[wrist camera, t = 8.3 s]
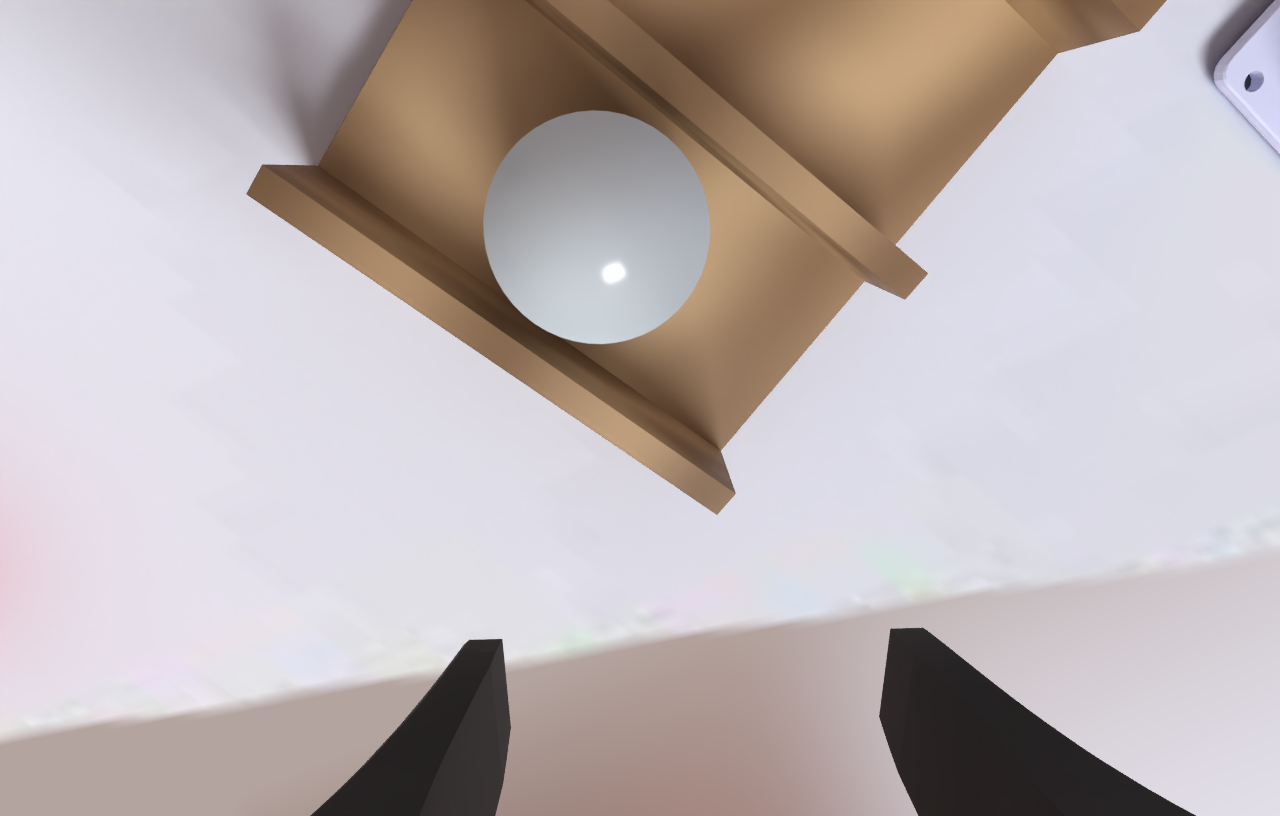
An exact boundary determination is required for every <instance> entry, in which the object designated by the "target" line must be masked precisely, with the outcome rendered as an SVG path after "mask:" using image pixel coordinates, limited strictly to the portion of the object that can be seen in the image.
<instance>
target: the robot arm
mask: <svg viewBox="0 0 1280 816" xmlns="http://www.w3.org/2000/svg"><path fill="white" fill-rule="evenodd" d="M1248 75H1250V77H1251V85H1250V86H1249V88H1248V90H1246V89H1245V87H1244V82H1245V79H1246V78H1247V76H1248ZM1214 82H1215V84H1216V86H1217V87H1218V88H1219V89H1220V90H1221V92H1222V93H1223V94H1224V95H1225V96H1226V97H1227V98H1228V99H1229V100H1230V101H1231V102H1232V103H1233V104H1234V106H1235V107H1236V108H1237V109H1238V110H1239V111H1240V112H1241V113H1242V114H1243V115H1244V116H1245V117H1246V118H1247V120H1248V121H1249V122H1250V123H1251V124H1252V125H1253V126H1254V127H1255V128H1256V129H1257V130H1258V131H1259V132H1260V134H1261V135H1262V136H1263V137H1264V138H1265V139H1266V140H1267V141H1268V142H1269V143H1270V144H1271V145H1272V146H1273V148H1274V149H1275V150H1276V151H1277V152H1278V153H1279V154H1280V0H1274V1H1273V3H1272V4H1271V5H1270V6H1269V7H1268V8H1267V9H1266V10H1265V11H1264V12H1263V13H1262V15H1261V16H1260V17H1259V18H1258V19H1257V20H1256V21H1255V22H1254V23H1253V24H1252V25H1251V27H1250V28H1249V29H1248V30H1247V31H1246V32H1245V33H1244V34H1243V35H1242V36H1241V37H1240V39H1239V40H1238V41H1237V42H1236V43H1235V44H1234V45H1233V46H1232V47H1231V48H1230V49H1229V51H1228V52H1227V53H1226V54H1225V55H1224V56H1223V57H1222V58H1221V59H1220V61H1219V62H1218V64H1217V65H1216V68H1215V71H1214ZM879 717H880V720H881V724H882V727H883V730H884V733H885V736H886V739H887V742H888V745H889V748H890V751H891V754H892V757H893V759H894V762H895V765H896V768H897V770H898V773H899V775H900V777H901V779H902V782H903V784H904V786H905V788H906V790H907V793H908V795H909V797H910V799H911V801H912V803H913V805H914V807H915V809H916V811H917V814H918V816H1196V815H1194V814H1192V813H1190V812H1188V811H1186V810H1184V809H1183V808H1181V807H1179V806H1177V805H1175V804H1173V803H1171V802H1170V801H1168V800H1166V799H1164V798H1163V797H1161V796H1159V795H1158V794H1156V793H1154V792H1152V791H1151V790H1149V789H1147V788H1145V787H1144V786H1142V785H1141V784H1139V783H1137V782H1136V781H1134V780H1132V779H1131V778H1129V777H1128V776H1126V775H1124V774H1123V773H1121V772H1119V771H1118V770H1116V769H1114V768H1113V767H1111V766H1110V765H1108V764H1106V763H1105V762H1103V761H1102V760H1100V759H1099V758H1097V757H1095V756H1094V755H1092V754H1091V753H1089V752H1088V751H1086V750H1085V749H1083V748H1082V747H1080V746H1079V745H1077V744H1076V743H1075V742H1073V741H1072V740H1070V739H1069V738H1067V737H1066V736H1064V735H1063V734H1062V733H1060V732H1059V731H1057V730H1056V729H1054V728H1053V727H1051V726H1050V725H1049V724H1047V723H1046V722H1044V721H1043V720H1042V719H1040V718H1039V717H1038V716H1036V715H1035V714H1033V713H1032V712H1031V711H1029V710H1028V709H1027V708H1025V707H1024V706H1023V705H1021V704H1020V703H1019V702H1017V701H1016V700H1015V699H1013V698H1012V697H1011V696H1009V695H1008V694H1007V693H1005V692H1004V691H1003V690H1002V689H1000V688H999V687H998V686H997V685H995V684H994V683H993V682H991V681H990V680H989V679H988V678H986V677H985V676H984V675H982V674H981V673H980V672H979V671H978V670H976V669H975V668H974V667H973V666H971V665H970V664H969V663H967V662H966V661H965V660H964V659H962V658H961V657H960V656H959V655H957V654H956V653H955V652H954V651H952V650H951V649H950V648H949V647H947V646H946V645H945V644H944V643H942V642H941V641H940V640H939V639H937V638H936V637H935V636H933V635H932V634H931V633H929V632H928V631H927V630H925V629H924V628H903V629H890V637H889V645H888V653H887V660H886V668H885V676H884V684H883V692H882V699H881V708H880V715H879ZM510 729H511V725H510V715H509V705H508V694H507V684H506V673H505V663H504V653H503V642H502V639H488V640H469V641H468V642H467V643H466V644H465V645H463V647H462V648H461V649H460V651H459V652H458V653H457V655H456V656H455V657H454V659H453V660H452V661H451V663H450V664H449V665H448V667H447V668H446V669H445V671H444V672H443V673H442V675H441V676H440V677H439V678H438V680H437V681H436V683H435V684H434V685H433V686H432V687H431V689H430V690H429V691H428V692H427V694H426V695H425V696H424V697H423V699H422V700H421V701H420V702H419V703H418V705H417V706H416V707H415V708H414V709H413V710H412V712H411V713H410V714H409V715H408V717H407V718H406V719H405V720H404V721H403V722H402V724H401V725H400V726H399V727H398V728H397V730H395V732H394V733H393V734H392V735H391V736H390V737H389V738H388V739H387V740H386V741H385V742H384V743H383V745H382V746H381V747H380V748H379V749H378V750H377V751H376V752H375V753H374V755H372V757H371V758H370V759H369V760H368V761H367V762H366V763H365V764H364V765H363V766H362V767H361V768H360V769H359V770H358V771H357V772H356V773H355V774H354V775H353V776H352V777H351V778H350V779H349V780H348V781H347V782H346V783H345V784H344V785H343V786H342V787H341V788H340V789H339V790H338V791H337V792H336V793H335V794H334V795H332V796H331V797H330V798H329V799H328V800H327V801H326V802H325V803H324V804H323V805H322V806H321V807H320V808H318V809H317V810H316V811H315V812H314V813H313V814H312V815H311V816H495V814H496V810H497V806H498V802H499V798H500V794H501V790H502V786H503V780H504V773H505V766H506V760H507V752H508V744H509V737H510Z"/></svg>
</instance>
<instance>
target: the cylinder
mask: <svg viewBox="0 0 1280 816" xmlns="http://www.w3.org/2000/svg"><path fill="white" fill-rule="evenodd" d="M483 227H484V241H485V247H486V253H487V256H488V259H489V263H490V266H491V268H492V271H493V273H494V275H495V278H496V280H497V282H498V283H499V285H500V287H501V289H502V290H503V292H504V293H505V295H506V296H507V297H508V299H509V300H510V301H511V302H512V304H513V305H514V306H515V307H516V308H517V309H518V310H519V311H520V312H521V313H522V314H523V315H524V316H525V317H527V318H528V319H529V320H530V321H532V322H533V323H534V324H536V325H537V326H539V327H541V328H542V329H544V330H546V331H548V332H550V333H552V334H554V335H557V336H559V337H562V338H565V339H568V340H572V341H576V342H582V343H588V344H608V343H617V342H621V341H626V340H630V339H633V338H636V337H638V336H641V335H644V334H645V333H647V332H649V331H651V330H653V329H655V328H657V327H658V326H660V325H661V324H662V323H664V322H665V321H667V320H668V319H669V318H670V317H671V316H672V315H673V314H675V313H676V312H677V311H678V310H679V309H680V307H681V306H682V305H683V304H684V303H685V302H686V300H687V299H688V298H689V296H690V294H691V293H692V291H693V290H694V288H695V287H696V285H697V282H698V280H699V278H700V276H701V274H702V271H703V268H704V265H705V262H706V259H707V254H708V249H709V241H710V216H709V210H708V205H707V200H706V197H705V193H704V190H703V187H702V185H701V182H700V180H699V178H698V176H697V174H696V172H695V170H694V168H693V167H692V165H691V164H690V162H689V161H688V159H687V158H686V156H685V155H684V154H683V153H682V152H681V150H680V149H679V148H678V147H677V146H676V145H675V144H674V143H673V142H672V141H671V140H670V139H669V138H668V137H666V136H665V135H664V134H662V133H661V132H660V131H658V130H657V129H655V128H654V127H652V126H650V125H648V124H646V123H645V122H643V121H641V120H639V119H636V118H633V117H630V116H627V115H624V114H620V113H615V112H609V111H594V110H592V111H581V112H574V113H570V114H566V115H562V116H559V117H556V118H554V119H551V120H549V121H547V122H545V123H543V124H541V125H540V126H538V127H536V128H534V129H533V130H532V131H530V132H529V133H528V134H526V135H525V136H524V137H523V138H521V139H520V140H519V141H518V142H517V143H516V144H515V145H514V147H513V148H512V149H511V150H510V151H509V152H508V154H507V155H506V156H505V158H504V159H503V161H502V162H501V164H500V165H499V167H498V169H497V171H496V173H495V175H494V177H493V179H492V182H491V185H490V187H489V190H488V194H487V198H486V203H485V209H484V219H483Z"/></svg>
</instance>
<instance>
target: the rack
mask: <svg viewBox="0 0 1280 816" xmlns="http://www.w3.org/2000/svg"><path fill="white" fill-rule="evenodd" d="M1165 2H1166V0H412V2H411V4H410V5H409V7H408V9H407V11H406V12H405V14H404V16H403V18H402V19H401V21H400V23H399V25H398V26H397V28H396V30H395V32H394V33H393V35H392V37H391V39H390V41H389V42H388V44H387V46H386V48H385V49H384V51H383V53H382V55H381V56H380V58H379V60H378V62H377V63H376V65H375V67H374V69H373V70H372V72H371V74H370V76H369V77H368V79H367V81H366V83H365V84H364V86H363V88H362V90H361V91H360V93H359V95H358V97H357V99H356V100H355V102H354V104H353V106H352V107H351V109H350V111H349V113H348V114H347V116H346V118H345V120H344V121H343V123H342V125H341V127H340V128H339V130H338V132H337V134H336V135H335V137H334V139H333V141H332V142H331V144H330V146H329V148H328V149H327V151H326V153H325V155H324V156H323V158H322V160H321V162H320V164H319V165H318V166H307V165H262V166H261V168H260V170H259V172H258V173H257V175H256V177H255V179H254V181H253V183H252V184H251V186H250V188H249V190H248V192H247V195H248V196H250V197H251V198H253V199H254V200H256V201H257V202H259V203H260V204H262V205H263V206H264V207H266V208H267V209H269V210H270V211H272V212H273V213H275V214H276V215H278V216H279V217H281V218H282V219H284V220H285V221H286V222H288V223H289V224H291V225H292V226H294V227H295V228H297V229H298V230H300V231H301V232H303V233H304V234H306V235H307V236H308V237H310V238H311V239H313V240H314V241H316V242H317V243H319V244H320V245H322V246H323V247H325V248H326V249H328V250H329V251H330V252H332V253H333V254H335V255H336V256H338V257H339V258H341V259H342V260H344V261H345V262H347V263H348V264H350V265H351V266H353V267H354V268H355V269H357V270H358V271H360V272H361V273H363V274H364V275H366V276H367V277H369V278H370V279H372V280H373V281H375V282H376V283H377V284H379V285H380V286H382V287H383V288H385V289H386V290H388V291H389V292H391V293H392V294H394V295H395V296H397V297H398V298H399V299H401V300H402V301H404V302H405V303H407V304H408V305H410V306H411V307H413V308H414V309H416V310H417V311H419V312H420V313H422V314H423V315H424V316H426V317H427V318H429V319H430V320H432V321H433V322H435V323H436V324H438V325H439V326H441V327H442V328H444V329H445V330H446V331H448V332H449V333H451V334H452V335H454V336H455V337H457V338H458V339H460V340H461V341H463V342H464V343H466V344H467V345H468V346H470V347H471V348H473V349H474V350H476V351H477V352H479V353H480V354H482V355H483V356H485V357H486V358H488V359H489V360H490V361H492V362H493V363H495V364H496V365H498V366H499V367H501V368H502V369H504V370H505V371H507V372H508V373H510V374H511V375H513V376H514V377H515V378H517V379H518V380H520V381H521V382H523V383H524V384H526V385H527V386H529V387H530V388H532V389H533V390H535V391H536V392H537V393H539V394H540V395H542V396H543V397H545V398H546V399H548V400H549V401H551V402H552V403H554V404H555V405H557V406H558V407H559V408H561V409H562V410H564V411H565V412H567V413H568V414H570V415H571V416H573V417H574V418H576V419H577V420H579V421H580V422H581V423H583V424H584V425H586V426H587V427H589V428H590V429H592V430H593V431H595V432H596V433H598V434H599V435H601V436H602V437H604V438H605V439H606V440H608V441H609V442H611V443H612V444H614V445H615V446H617V447H618V448H620V449H621V450H623V451H624V452H626V453H627V454H628V455H630V456H631V457H633V458H634V459H636V460H637V461H639V462H640V463H642V464H643V465H645V466H646V467H648V468H649V469H650V470H652V471H653V472H655V473H656V474H658V475H659V476H661V477H662V478H664V479H665V480H667V481H668V482H670V483H671V484H673V485H674V486H675V487H677V488H678V489H680V490H681V491H683V492H684V493H686V494H687V495H689V496H690V497H692V498H693V499H695V500H696V501H697V502H699V503H700V504H702V505H703V506H705V507H706V508H708V509H709V510H711V511H712V512H714V513H715V514H718V513H719V512H720V511H721V510H722V509H723V508H724V506H725V505H726V504H727V503H728V502H729V501H730V500H731V498H732V497H733V496H734V495H735V494H736V493H735V490H734V488H733V485H732V482H731V479H730V476H729V473H728V470H727V468H726V465H725V462H724V459H723V456H722V453H721V450H722V449H723V447H724V446H725V445H726V444H727V443H728V442H729V440H730V439H731V438H732V437H733V436H734V435H735V433H736V432H737V431H738V430H739V429H740V427H741V426H742V425H743V424H744V423H745V422H746V420H747V419H748V418H749V417H750V416H751V414H752V413H753V412H754V411H755V410H756V409H757V407H758V406H759V405H760V404H761V403H762V401H763V400H764V399H765V398H766V397H767V396H768V394H769V393H770V392H771V391H772V390H773V388H774V387H775V386H776V385H777V384H778V383H779V381H780V380H781V379H782V378H783V377H784V376H785V374H786V373H787V372H788V371H789V370H790V368H791V367H792V366H793V365H794V364H795V363H796V361H797V360H798V359H799V358H800V357H801V355H802V354H803V353H804V352H805V351H806V350H807V348H808V347H809V346H810V345H811V344H812V342H813V341H814V340H815V339H816V338H817V337H818V335H819V334H820V333H821V332H822V331H823V330H824V328H825V327H826V326H827V325H828V324H829V322H830V321H831V320H832V319H833V318H834V317H835V315H836V314H837V313H838V312H839V311H840V309H841V308H842V307H843V306H844V305H845V304H846V302H847V301H848V300H849V299H850V298H851V296H852V295H853V294H854V293H855V292H856V291H857V289H858V288H859V287H860V286H861V285H862V284H863V282H864V281H865V282H868V283H870V284H872V285H874V286H876V287H879V288H881V289H883V290H885V291H888V292H890V293H892V294H894V295H896V296H899V297H901V298H903V299H906V298H907V297H908V296H909V295H910V293H911V292H912V291H913V290H914V289H915V288H916V287H917V285H918V284H919V283H920V282H921V281H922V280H923V279H924V277H925V276H926V275H927V274H928V273H927V272H926V271H925V270H924V269H922V268H921V267H920V266H919V265H918V264H917V263H915V262H914V261H913V260H912V259H911V258H909V257H908V256H907V255H906V254H905V253H904V252H902V251H901V250H900V249H899V248H898V247H897V246H895V245H896V243H897V242H898V241H899V240H900V239H901V237H902V236H903V235H904V234H905V233H906V232H907V230H908V229H909V228H910V227H911V226H912V225H913V223H914V222H915V221H916V220H917V219H918V217H919V216H920V215H921V214H922V213H923V212H924V210H925V209H926V208H927V207H928V206H929V204H930V203H931V202H932V201H933V200H934V199H935V197H936V196H937V195H938V194H939V193H940V191H941V190H942V189H943V188H944V187H945V186H946V184H947V183H948V182H949V181H950V180H951V179H952V177H953V176H954V175H955V174H956V173H957V171H958V170H959V169H960V168H961V167H962V166H963V164H964V163H965V162H966V161H967V160H968V158H969V157H970V156H971V155H972V154H973V153H974V151H975V150H976V149H977V148H978V147H979V145H980V144H981V143H982V142H983V141H984V140H985V138H986V137H987V136H988V135H989V134H990V133H991V131H992V130H993V129H994V128H995V127H996V125H997V124H998V123H999V122H1000V121H1001V120H1002V118H1003V117H1004V116H1005V115H1006V114H1007V112H1008V111H1009V110H1010V109H1011V108H1012V107H1013V105H1014V104H1015V103H1016V102H1017V101H1018V99H1019V98H1020V97H1021V96H1022V95H1023V94H1024V92H1025V91H1026V90H1027V89H1028V88H1029V86H1030V85H1031V84H1032V83H1033V82H1034V81H1035V79H1036V78H1037V77H1038V76H1039V75H1040V74H1041V72H1042V71H1043V70H1044V69H1045V68H1046V66H1047V65H1048V64H1049V63H1050V62H1051V61H1052V59H1053V58H1054V57H1055V56H1056V55H1057V53H1061V52H1065V51H1068V50H1072V49H1076V48H1079V47H1083V46H1087V45H1090V44H1094V43H1098V42H1101V41H1105V40H1109V39H1112V38H1116V37H1120V36H1123V35H1127V34H1131V33H1134V32H1138V31H1140V30H1141V29H1142V28H1143V27H1144V26H1145V24H1146V23H1147V22H1148V21H1149V20H1150V19H1151V18H1152V16H1153V15H1154V14H1155V13H1156V12H1157V11H1158V10H1159V8H1160V7H1161V6H1162V5H1163V4H1164V3H1165ZM592 110H594V111H609V112H615V113H620V114H624V115H627V116H630V117H633V118H636V119H639V120H641V121H643V122H645V123H646V124H648V125H650V126H652V127H654V128H655V129H657V130H658V131H660V132H661V133H662V134H664V135H665V136H666V137H668V138H669V139H670V140H671V141H672V142H673V143H674V144H675V145H676V146H677V147H678V148H679V149H680V150H681V152H682V153H683V154H684V155H685V156H686V158H687V159H688V161H689V162H690V164H691V165H692V167H693V168H694V170H695V172H696V174H697V176H698V178H699V180H700V182H701V185H702V187H703V190H704V193H705V197H706V200H707V205H708V210H709V216H710V241H709V249H708V254H707V259H706V262H705V265H704V268H703V271H702V274H701V276H700V278H699V280H698V282H697V285H696V287H695V288H694V290H693V291H692V293H691V294H690V296H689V298H688V299H687V300H686V302H685V303H684V304H683V305H682V306H681V307H680V309H679V310H678V311H677V312H676V313H675V314H673V315H672V316H671V317H670V318H669V319H668V320H667V321H665V322H664V323H662V324H661V325H660V326H658V327H657V328H655V329H653V330H651V331H649V332H647V333H645V334H644V335H641V336H638V337H636V338H633V339H630V340H626V341H621V342H617V343H608V344H588V343H582V342H576V341H572V340H568V339H565V338H562V337H559V336H557V335H554V334H552V333H550V332H548V331H546V330H544V329H542V328H541V327H539V326H537V325H536V324H534V323H533V322H532V321H530V320H529V319H528V318H527V317H525V316H524V315H523V314H522V313H521V312H520V311H519V310H518V309H517V308H516V307H515V306H514V305H513V304H512V302H511V301H510V300H509V299H508V297H507V296H506V295H505V293H504V292H503V290H502V289H501V287H500V285H499V283H498V282H497V280H496V278H495V275H494V273H493V271H492V268H491V266H490V263H489V259H488V256H487V253H486V247H485V241H484V227H483V219H484V209H485V203H486V198H487V194H488V190H489V187H490V185H491V182H492V179H493V177H494V175H495V173H496V171H497V169H498V167H499V165H500V164H501V162H502V161H503V159H504V158H505V156H506V155H507V154H508V152H509V151H510V150H511V149H512V148H513V147H514V145H515V144H516V143H517V142H518V141H519V140H520V139H521V138H523V137H524V136H525V135H526V134H528V133H529V132H530V131H532V130H533V129H534V128H536V127H538V126H540V125H541V124H543V123H545V122H547V121H549V120H551V119H554V118H556V117H559V116H562V115H566V114H570V113H574V112H581V111H592Z"/></svg>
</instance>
